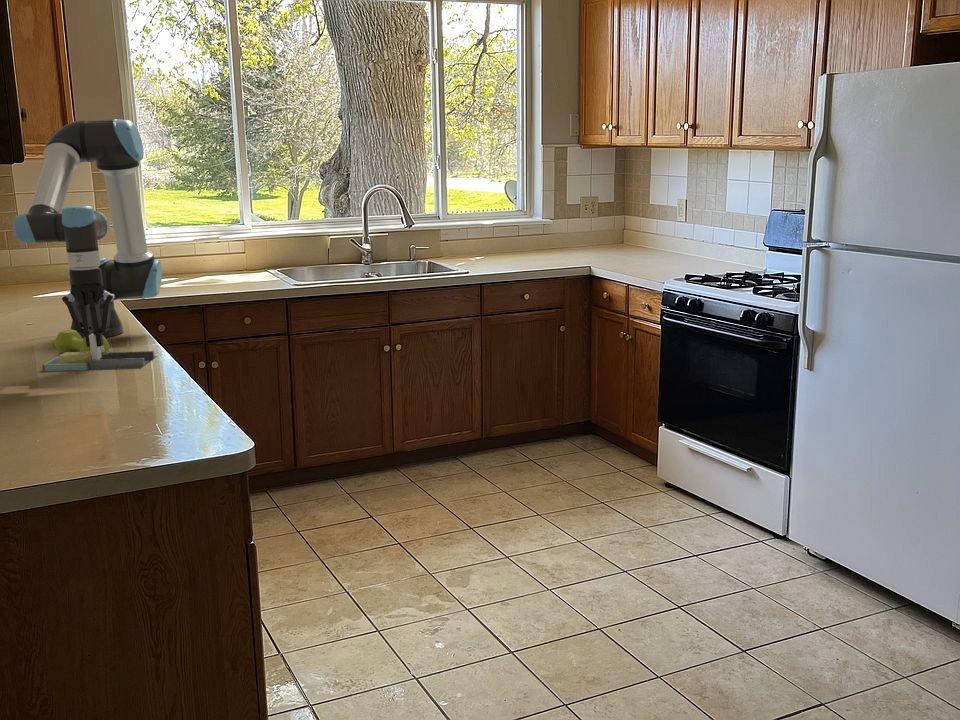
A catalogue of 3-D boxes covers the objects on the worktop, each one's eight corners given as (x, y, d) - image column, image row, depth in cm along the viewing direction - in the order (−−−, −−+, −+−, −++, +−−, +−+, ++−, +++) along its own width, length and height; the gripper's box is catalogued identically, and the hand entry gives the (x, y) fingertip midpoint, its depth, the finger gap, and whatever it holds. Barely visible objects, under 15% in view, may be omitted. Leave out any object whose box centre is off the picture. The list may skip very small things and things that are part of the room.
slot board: (105, 363, 246) (104, 350, 245) (158, 361, 246) (157, 348, 246) (85, 376, 233) (83, 362, 232) (141, 374, 233) (139, 360, 232)
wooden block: (67, 367, 241) (65, 352, 240) (82, 366, 241) (80, 351, 240) (60, 370, 237) (58, 355, 236) (76, 370, 237) (74, 355, 236)
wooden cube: (82, 366, 241) (80, 351, 240) (98, 365, 241) (96, 350, 240) (76, 370, 237) (74, 354, 237) (92, 369, 237) (90, 354, 237)
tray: (62, 366, 245) (60, 355, 244) (103, 364, 245) (102, 353, 244) (43, 376, 234) (41, 365, 233) (87, 375, 234) (85, 363, 233)
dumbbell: (53, 357, 256) (50, 332, 255) (80, 352, 262) (77, 327, 261) (86, 364, 247) (83, 338, 245) (113, 358, 253) (110, 332, 251)
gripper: (52, 270, 230) (65, 363, 235) (105, 269, 230) (116, 361, 235) (65, 266, 237) (77, 356, 242) (116, 265, 237) (127, 354, 243)
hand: (96, 358), depth 239 cm, fingers closed
